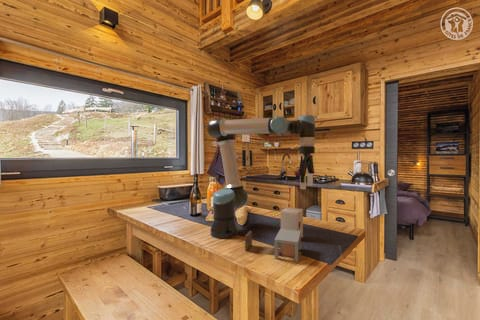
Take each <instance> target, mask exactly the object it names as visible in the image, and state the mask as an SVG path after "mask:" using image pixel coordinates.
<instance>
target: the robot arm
mask: <svg viewBox="0 0 480 320" xmlns="http://www.w3.org/2000/svg"><path fill="white" fill-rule="evenodd" d="M206 132H207V134H208V136H209V137H211V138H213V139H216V144H217V145H219V148H220V155H221V161H222V167H223V174H224V179H225V186H224V187H223V189H219V190H216V191H215V192H214V193H213V194H212V195H213V196H212V197H213V198H212V207H213V209H212V211H213V220H212V224H211V227H210V236H211V237H212V238H217V239H229V238H234V237H236V236H237V235H239V227H238V224H237V221H236V217H235V216H236V214H235V212H236V211H237V210H239V209H241V208H243V207H244V206H246V204H247V202H248V201H249V200H248V199H249V195H248V191H247V190H245V188H244V185H243V183H241V181H240V180H241V179H240V173H239V168H238V159H237V154H236V149H235V142H236V140H237V139H236V137H237V135H240V134H241V135H245V134H247V135H249V134H250V135H251V134H252V135H253V134H254V135H255V134H277V135H278V136H294V135H296V136H298V135H299V140H298V141H299V144H298V145H299V151H298V152H299V154H302V155H300V163H299V168H298V173H297V176H299V189H300V190H306V189H307V186H310V187H312V186H314V174H315V173H316V172H315V167H314V159H313V157H314V155H313V154H315V151H316V147H315V145H316V144H315V143H316V137H315V136H316V118H315V116H314V115H312V114H303V115H300V116H299V119H296V120H295V119H293V120H290V119H287V118H286V117H284V116H281V115H279V116H275V117H264V118H263V117H262V118H259V117H258V118H242V119H227V118H225V117H223V118H221V117H214V118H212V119H210V120H209V121H208V122H207V124H206ZM306 173H307V174H306ZM306 175H307V176H306Z"/></svg>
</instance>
